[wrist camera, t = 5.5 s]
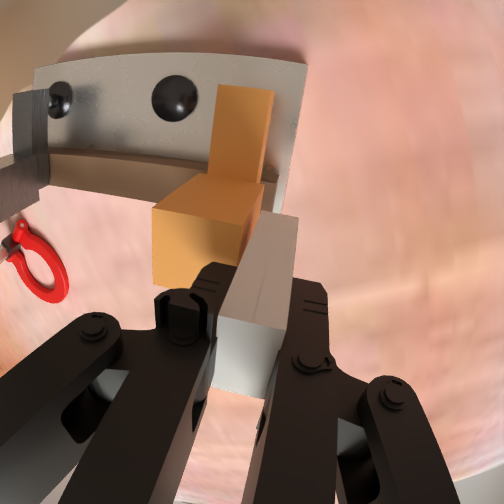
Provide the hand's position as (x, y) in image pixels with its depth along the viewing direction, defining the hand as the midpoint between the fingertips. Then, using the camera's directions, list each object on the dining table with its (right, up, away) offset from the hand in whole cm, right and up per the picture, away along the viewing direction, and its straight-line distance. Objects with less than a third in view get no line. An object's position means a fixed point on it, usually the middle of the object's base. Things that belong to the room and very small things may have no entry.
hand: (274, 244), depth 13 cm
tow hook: (-24, -2, +15) cm, 28 cm away
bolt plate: (-9, +8, +6) cm, 13 cm away
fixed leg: (-16, +8, +5) cm, 19 cm away
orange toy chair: (-1, +5, +4) cm, 7 cm away
